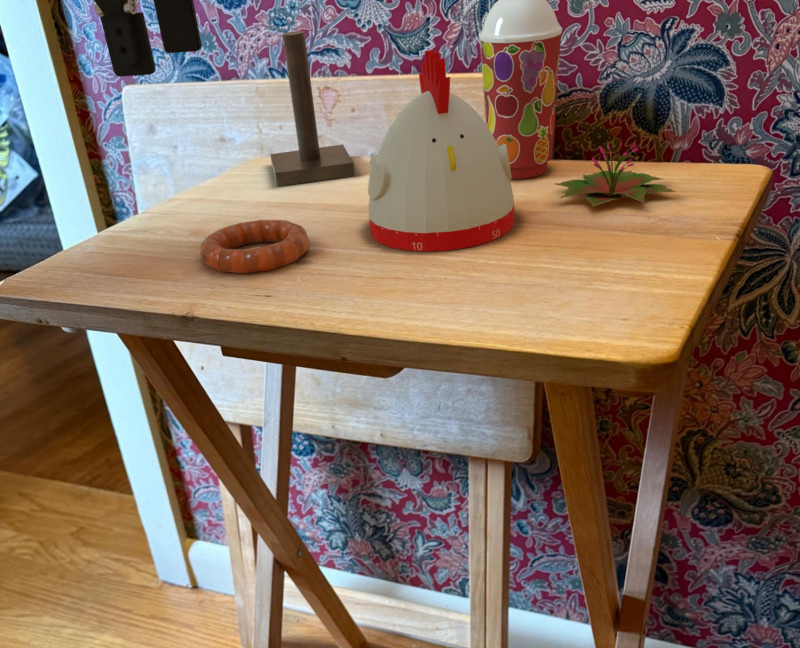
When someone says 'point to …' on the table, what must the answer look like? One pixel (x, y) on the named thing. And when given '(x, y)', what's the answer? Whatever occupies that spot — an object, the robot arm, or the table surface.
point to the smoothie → (521, 81)
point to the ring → (257, 259)
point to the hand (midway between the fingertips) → (161, 62)
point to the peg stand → (306, 127)
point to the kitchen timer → (439, 173)
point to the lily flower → (614, 182)
